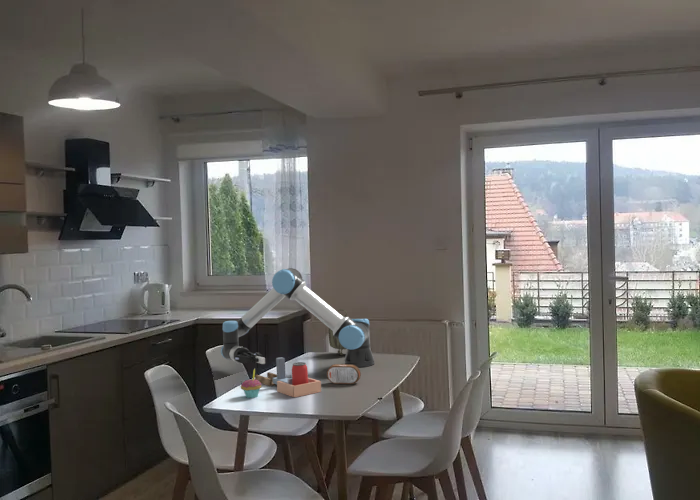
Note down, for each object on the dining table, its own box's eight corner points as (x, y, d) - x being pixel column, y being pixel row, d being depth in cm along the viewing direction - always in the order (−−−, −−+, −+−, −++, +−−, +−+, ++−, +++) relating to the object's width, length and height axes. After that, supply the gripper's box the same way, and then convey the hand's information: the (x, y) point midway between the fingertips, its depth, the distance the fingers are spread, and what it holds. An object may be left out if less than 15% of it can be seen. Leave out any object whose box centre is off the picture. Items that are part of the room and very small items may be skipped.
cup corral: (277, 391, 270) (276, 381, 270) (303, 386, 277) (303, 376, 277) (294, 397, 258) (294, 386, 258) (321, 391, 266) (320, 381, 266)
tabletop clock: (358, 354, 348) (356, 308, 348) (348, 357, 341) (346, 310, 341) (338, 352, 357) (336, 308, 357) (328, 355, 350) (326, 309, 350)
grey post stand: (270, 384, 281) (269, 358, 281) (283, 382, 285) (282, 355, 285) (289, 390, 268) (288, 362, 268) (302, 388, 272) (301, 360, 272)
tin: (361, 383, 279) (360, 364, 279) (359, 384, 276) (358, 365, 276) (328, 382, 283) (327, 363, 283) (326, 384, 280) (325, 365, 280)
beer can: (303, 394, 263) (301, 365, 263) (289, 393, 266) (288, 364, 266) (311, 390, 269) (310, 362, 269) (298, 389, 272) (296, 361, 272)
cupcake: (265, 394, 266) (264, 365, 266) (256, 399, 258) (254, 370, 258) (247, 393, 269) (246, 365, 268) (237, 398, 261) (236, 369, 260)
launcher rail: (255, 381, 292) (254, 374, 292) (269, 378, 296) (269, 372, 296) (270, 386, 281) (269, 379, 281) (284, 383, 285) (284, 376, 285)
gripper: (252, 360, 315) (276, 366, 296) (228, 364, 308) (251, 371, 289) (251, 345, 315) (275, 350, 296) (227, 348, 307) (250, 354, 288)
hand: (263, 360), depth 292 cm, fingers closed
